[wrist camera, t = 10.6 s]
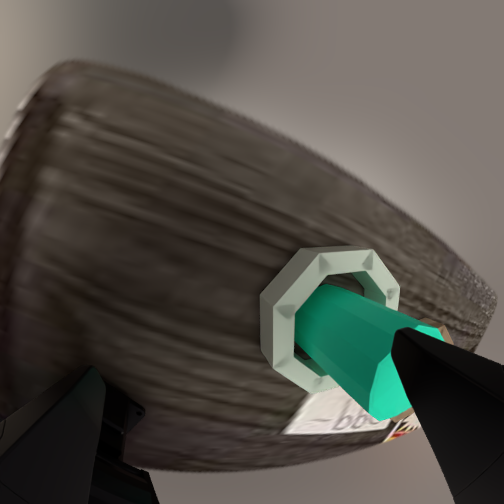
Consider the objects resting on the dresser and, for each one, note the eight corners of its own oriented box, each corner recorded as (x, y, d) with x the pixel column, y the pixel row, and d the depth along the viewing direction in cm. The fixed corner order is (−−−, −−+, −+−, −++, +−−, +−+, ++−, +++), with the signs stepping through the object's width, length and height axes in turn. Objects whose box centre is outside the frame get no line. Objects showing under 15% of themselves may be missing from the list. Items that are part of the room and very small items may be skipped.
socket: (318, 390, 23) (333, 407, 20) (229, 327, 20) (238, 344, 17) (393, 300, 24) (414, 308, 21) (326, 217, 21) (348, 217, 18)
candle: (363, 301, 23) (473, 350, 11) (329, 359, 23) (419, 437, 11) (314, 270, 21) (436, 318, 10) (276, 337, 21) (363, 434, 10)
